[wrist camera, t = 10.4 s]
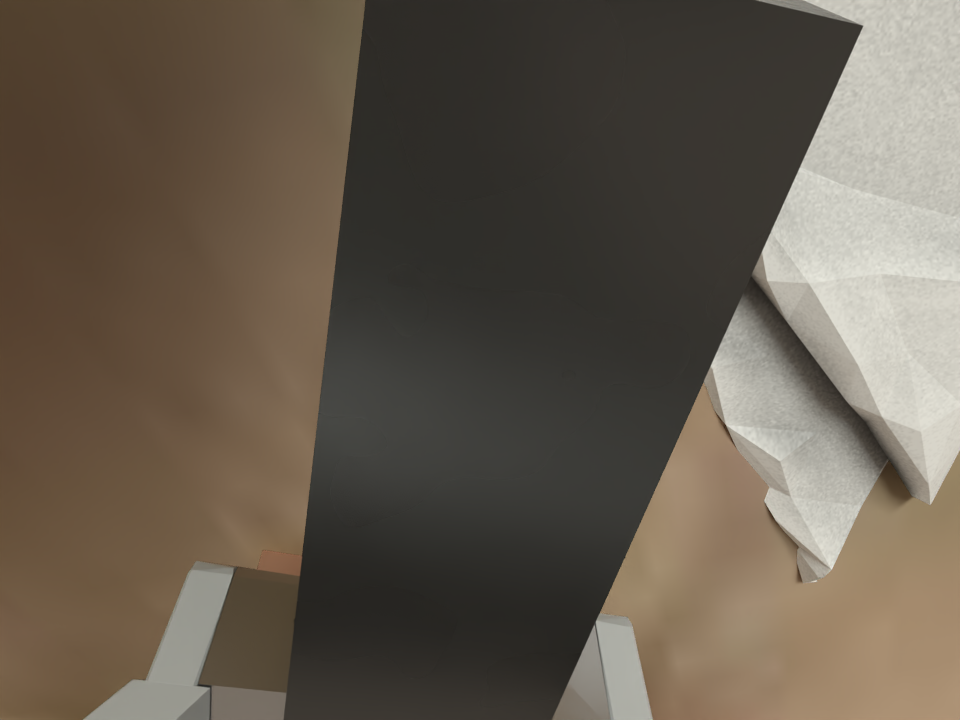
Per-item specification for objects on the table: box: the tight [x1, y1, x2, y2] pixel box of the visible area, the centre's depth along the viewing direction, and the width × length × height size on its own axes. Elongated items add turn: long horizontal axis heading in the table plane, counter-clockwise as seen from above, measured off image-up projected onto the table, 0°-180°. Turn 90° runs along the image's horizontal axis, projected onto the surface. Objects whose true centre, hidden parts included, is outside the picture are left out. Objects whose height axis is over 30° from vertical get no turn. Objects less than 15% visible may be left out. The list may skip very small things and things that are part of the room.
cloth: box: [704, 0, 960, 583], centre depth 15 cm, size 26×14×2 cm, turn 167°
